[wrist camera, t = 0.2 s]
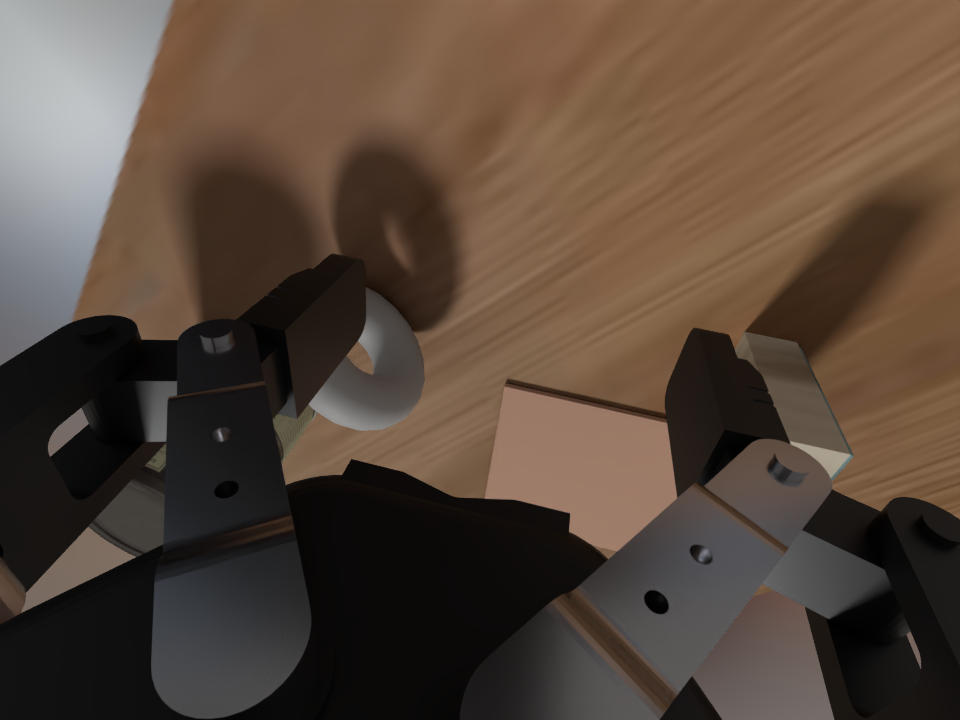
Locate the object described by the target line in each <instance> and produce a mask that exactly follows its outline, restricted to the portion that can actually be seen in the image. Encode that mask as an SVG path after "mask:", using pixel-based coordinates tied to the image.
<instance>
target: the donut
mask: <svg viewBox="0 0 960 720" xmlns="http://www.w3.org/2000/svg"><path fill="white" fill-rule="evenodd" d="M358 342H360V344H361V345H362V346H363V347H364V348H365V349H366V351H367V352H368V354H369V356H370V358H371V360H372V363H373V375H371V374H368V373H366V372H363V371H361V370H360V369H359V368H357V367H356V366H355V365H354V364H353V363H352V362H351V360H350V359H349V358H348V357H347V356H346V357H345V358H344V359H343V360H342V362H341V363H340V364H339V366H338V367H337V368H336V369H335V371H334V372H333V373H332V375H331V376H330V377H329V378H328V380H327V381H326V382H325V384H324V385H323V386H322V388H321V389H320V390H319V391H318V393H317V394H316V395H315V397H314V398H313V399H312V400H311V402H310V403H309V405H310V406H311V407H312V408H313V410H315V411H317V412H318V413H320V414H321V415H323V416H324V417H326V418H327V419H329V420H330V421H332V422H334V423H335V424H339V425H342V426H345V427H349V428H352V429H355V430H361V431H363V430H382V429H385V428H388V427H390V426H392V425H394V424H396V423H397V422H399V421H401V420H403V419H405V418H406V417H407V416H408V415H409V413H410V412H411V411H412V409H413V408H414V407H415V405H416V404H417V403H418V401H419V399H420V397H421V393H422V389H423V385H424V381H425V377H424V362H423V356H422V353H421V350H420V346H419V343H418V340H417V338H416V336H415V335H414V333H413V331H412V329H411V327H410V326H409V324H408V322H407V321H406V320H405V319H404V317H403V316H402V315H401V314H400V313H399V311H398V310H397V309H396V308H395V307H394V306H393V305H392V304H391V303H389V302H388V301H387V300H386V299H385V298H383V297H382V296H381V295H380V294H378V293H376V292H374V291H372V290H371V289H369V288H367V287H366V323H365V327H364V330H363V333H362V335H361V337H360V338H359V340H358Z"/></svg>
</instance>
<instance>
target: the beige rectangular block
mask: <svg viewBox="0 0 960 720" xmlns="http://www.w3.org/2000/svg"><path fill="white" fill-rule="evenodd" d="M735 352H736V355H737V357H738V358H740V359H745V360H748V361H749V362H750V363H751V364H752V365H753V366H754V367H755V368H756V369H757V370H758V371H759V372H760V373H761V375H762V376H763V378H764V381H765V383H766V385H767V388H768V390H769V391H768V394H770V395H771V397H772V400H773V402H774V405H773V406H774V407H776V409H777V412H778V414H779V417H780V419H781V422H782V424H783V426H784V429H785V431H786V434H787V436H788V438H789V441H790V443H791V445H793V446H796V447H798V448H800V449H801V450H803V451H805V452H806V453H808V454H809V455H811V456H812V457H813V458H815V459H816V460H817V461H818V462H819V463H820V464H821V465H822V466H823V467H824V468H825V470H826V471H827V473H828V474H829V476H830V478H831V481H833V480H834V478H835V477H836V476H837V475H838V474H839V473H840V471H841V470H842V469H843V468H844V467H845V466H846V464H847V463H848V462H849V461H850V460H851V458H852V457H853V456H854V455H853V453H852V451H851V449H850V447H849V445H848V443H847V441H846V439H845V437H844V435H843V433H842V431H841V429H840V427H839V424H838V422H837V420H836V418H835V416H834V414H833V412H832V410H831V408H830V406H829V404H828V402H827V400H826V398H825V396H824V394H823V392H822V390H821V387H820V385H819V383H818V381H817V379H816V377H815V375H814V373H813V371H812V369H811V367H810V365H809V363H808V361H807V359H806V357H805V355H804V352H803V350H802V348H799V346H798V344H797V342H793V341H788V340H783V339H778V338H773V337H769V336H764V335H759V334H754V333H749V332H744V334H743V335H742V337H741V339H740V341H739V343H738V345H737V347H736V349H735Z"/></svg>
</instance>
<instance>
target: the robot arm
mask: <svg viewBox="0 0 960 720" xmlns="http://www.w3.org/2000/svg"><path fill="white" fill-rule="evenodd" d="M365 323H366V277H365V265H364V262H363V261H362V260H361V259H357V258H352V257H347V256H342V255H337V254H330V255H329V256H328V257H327V258H326V259H324V260H323V261H322V262H321V263H320V264H319V265H317V266H316V267H315V268H314V269H306V270H304V271H301V272H298V273H296V274H293V275H291V276H289V277H288V278H287V279H286V280H284V281H283V282H282V283H281V284H279V285H278V288H275V289H273V290H272V291H271V292H270V293H268V296H265V297H264V298H262V299H261V300H260V301H259V302H257V303H256V304H255V305H254V306H253V307H251V308H250V309H249V310H248V311H246V312H245V313H244V314H243V315H242V316H240V317H239V318H238V319H237V320H234V319H215V320H209V321H205V322H201V323H198V324H196V325H194V326H191V327H190V328H188V329H186V330H185V331H184V332H183V333H182V334H181V335H180V336H179V338H178V340H141V337H140V334H139V331H138V328H137V325H136V324H135V322H134V321H132V320H131V319H128V318H126V317H122V316H115V315H103V316H94V317H89V318H84V319H81V320H77V321H74V322H72V323H69V324H67V325H65V326H63V327H62V328H60V329H58V330H57V331H55V332H54V333H52V334H50V335H49V336H47V337H45V338H44V339H42V340H41V341H39V342H38V343H36V344H34V345H33V346H31V347H30V348H28V349H26V350H25V351H23V352H22V353H20V354H18V355H17V356H15V357H14V358H12V359H11V360H9V361H7V362H6V363H4V364H3V365H1V366H0V720H722V719H721V717H720V716H719V714H718V713H717V711H716V710H715V709H714V707H713V706H712V704H711V703H710V701H709V700H708V698H707V697H706V695H705V694H704V692H703V691H702V690H701V688H700V687H699V685H698V684H697V682H696V681H695V679H694V678H693V677H692V675H693V674H694V673H695V671H696V670H697V669H698V667H699V666H700V665H701V663H702V662H703V661H704V659H705V658H706V657H707V655H708V654H709V653H710V652H711V650H712V649H713V648H714V646H715V645H716V644H717V642H718V641H719V640H720V638H721V637H722V636H723V634H724V633H725V632H726V630H727V629H728V628H729V626H730V625H731V624H732V622H733V621H734V620H735V619H736V617H737V616H738V615H739V613H740V612H741V611H742V609H743V608H744V607H745V605H746V604H747V603H748V601H749V600H750V599H751V598H752V596H753V595H754V594H755V592H756V591H757V590H758V588H759V587H760V586H761V584H763V585H765V586H767V587H769V588H771V589H773V590H775V591H777V592H779V593H780V594H782V595H784V596H786V597H788V598H790V599H792V600H794V601H796V602H797V603H799V604H802V605H803V606H805V609H806V613H807V617H808V621H809V624H810V628H811V632H812V635H813V640H814V644H815V647H816V651H817V655H818V659H819V662H820V666H821V670H822V673H823V678H824V682H825V685H826V689H827V693H828V697H829V701H830V704H831V708H832V712H833V716H834V719H835V720H960V520H959V519H958V518H957V517H955V516H954V515H952V514H950V513H949V512H947V511H945V510H944V509H942V508H940V507H938V506H936V505H933V504H931V503H928V502H926V501H923V500H919V499H915V498H909V497H898V498H895V499H893V500H891V501H890V502H889V503H888V504H887V505H886V506H885V507H884V509H883V510H882V511H878V510H876V509H874V508H872V507H869V506H867V505H865V504H863V503H860V502H858V501H856V500H854V499H851V498H849V497H847V496H844V495H842V494H840V493H838V492H836V491H834V490H832V481H831V478H830V476H829V474H828V473H827V471H826V470H825V468H824V467H823V466H822V465H821V464H820V463H819V462H818V461H817V460H816V459H815V458H813V457H812V456H811V455H809V454H808V453H806V452H805V451H803V450H801V449H800V448H798V447H796V446H793V445H791V443H790V441H789V438H788V436H787V434H786V431H785V429H784V426H783V424H782V422H781V419H780V417H779V414H778V412H777V409H776V407H774V406H773V405H774V402H773V400H772V397H771V395H770V394H768V391H769V390H768V388H767V385H766V383H765V381H764V378H763V376H762V375H761V373H760V372H759V371H758V370H757V369H756V368H755V367H754V366H753V365H752V364H751V363H750V362H749V361H748V360H745V359H740V358H738V357H737V355H736V352H735V349H734V346H733V344H732V341H731V338H730V336H729V335H728V334H724V333H719V332H714V331H709V330H704V329H699V328H694V329H692V330H691V332H690V333H689V335H688V337H687V340H686V342H685V344H684V347H683V349H682V351H681V354H680V356H679V359H678V361H677V363H676V366H675V368H674V370H673V373H672V375H671V377H670V380H669V382H668V386H667V390H666V395H665V411H666V419H667V426H668V433H669V441H670V448H671V456H672V463H673V470H674V478H675V485H676V493H677V499H676V500H675V501H674V502H672V503H671V504H670V505H669V506H668V507H667V508H666V509H665V510H663V511H662V512H661V513H660V514H659V515H658V516H657V517H656V518H654V519H653V520H652V521H651V522H650V523H649V524H648V525H647V526H645V527H644V528H643V529H642V530H641V531H640V532H639V533H638V534H636V535H635V536H634V537H633V538H632V539H631V540H630V541H629V542H627V543H626V544H625V545H624V546H623V547H622V548H621V549H620V550H619V551H617V552H616V553H615V554H614V555H613V556H612V557H611V558H610V559H608V558H607V557H606V556H604V555H603V554H602V553H601V552H600V551H599V550H597V549H596V548H595V547H593V546H592V545H591V544H589V543H588V542H586V541H585V540H583V539H582V538H580V537H578V536H577V535H575V534H573V533H571V532H569V525H570V513H567V512H562V511H558V510H554V509H550V508H546V507H542V506H538V505H534V504H530V503H526V502H522V501H518V500H510V499H480V498H457V497H453V496H450V495H448V494H446V493H444V492H442V491H440V490H438V489H436V488H434V487H432V486H430V485H428V484H426V483H424V482H422V481H420V480H418V479H416V478H414V477H412V476H410V475H408V474H406V473H404V472H401V471H397V470H393V469H389V468H385V467H381V466H377V465H373V464H369V463H365V462H361V461H357V460H353V459H351V461H350V462H349V464H348V466H347V468H346V469H345V471H344V473H343V474H342V475H328V476H319V477H313V478H308V479H304V480H300V481H296V482H293V483H291V484H288V485H285V479H284V474H283V469H282V464H281V459H280V454H279V449H278V444H277V439H276V434H275V429H274V424H273V419H274V418H275V416H276V415H277V414H279V415H283V416H287V417H291V418H295V419H298V417H299V416H300V415H301V413H302V412H303V411H304V410H305V408H306V407H307V406H308V404H309V403H310V402H311V400H312V399H313V398H314V397H315V395H316V394H317V393H318V391H319V390H320V389H321V388H322V386H323V385H324V384H325V382H326V381H327V380H328V378H329V377H330V376H331V375H332V373H333V372H334V371H335V369H336V368H337V367H338V366H339V364H340V363H341V362H342V360H343V359H344V358H345V357H346V355H347V354H348V353H349V351H350V350H351V349H352V347H353V346H354V345H355V344H356V342H357V341H358V340H359V338H360V337H361V335H362V333H363V330H364V327H365ZM80 408H82V410H83V412H84V414H85V416H86V418H87V420H88V423H89V424H88V425H87V426H86V427H85V428H84V429H82V430H81V431H80V432H79V433H78V434H77V435H75V436H74V437H73V438H72V439H71V440H70V441H68V442H67V443H66V444H65V445H64V446H63V447H61V448H60V449H59V450H58V451H57V452H56V453H54V454H53V455H52V456H51V457H50V456H49V453H48V442H49V439H50V437H51V435H52V433H53V432H54V430H55V429H56V428H57V427H58V426H59V425H60V424H61V423H63V422H64V421H65V420H66V419H68V418H69V417H70V416H71V415H73V414H74V413H75V412H76V411H77V410H79V409H80ZM165 444H166V468H165V503H164V538H163V545H160V546H158V547H156V548H154V549H152V550H150V551H148V552H146V553H144V554H142V555H140V556H138V557H136V558H134V559H132V560H130V561H128V562H126V563H123V564H122V565H119V566H117V567H115V568H113V569H111V570H109V571H107V572H105V573H103V574H101V575H99V576H97V577H95V578H93V579H91V580H89V581H86V582H84V583H82V584H80V585H78V586H76V587H74V588H72V589H70V590H68V591H66V592H64V593H62V594H60V595H58V596H56V597H54V598H52V599H50V600H48V601H45V602H43V603H41V604H39V605H37V606H35V607H33V608H31V609H29V610H27V611H25V612H23V613H21V611H22V609H23V606H24V604H25V598H26V592H27V591H28V590H29V589H30V588H31V587H32V586H33V585H34V584H35V583H36V582H37V581H38V579H39V578H40V577H41V576H42V575H43V574H44V573H45V572H46V571H47V570H48V569H49V568H50V567H51V566H52V564H53V563H54V562H55V561H56V560H57V559H58V558H59V557H60V556H61V555H62V554H63V553H64V552H65V550H66V549H67V548H68V547H69V546H70V545H71V544H72V543H73V542H74V541H75V540H76V539H77V538H78V536H79V535H81V533H82V532H83V531H84V530H85V529H86V528H87V527H88V526H89V525H90V524H91V523H92V522H93V521H94V520H95V519H96V517H97V516H98V515H99V514H100V513H101V512H102V511H103V510H104V509H105V508H106V507H107V506H108V505H109V504H110V502H111V501H112V500H113V499H114V498H115V497H116V496H117V495H118V494H119V493H120V492H121V491H122V490H123V489H124V488H125V486H126V485H127V484H128V483H129V482H130V481H131V480H132V479H133V478H134V477H135V476H136V475H137V474H138V473H139V471H140V470H141V469H142V468H143V467H144V466H145V465H146V464H147V463H148V462H149V461H150V460H151V459H152V458H153V457H154V455H155V454H156V453H157V452H158V451H159V450H160V449H161V448H162V447H163V446H164V445H165ZM20 613H21V614H20ZM910 631H911V633H912V636H913V638H914V640H915V643H916V645H917V647H918V650H919V653H920V657H921V669H920V667H919V664H918V662H917V659H916V657H915V654H914V652H913V650H912V647H911V645H910V643H909V640H908V638H907V635H906V634H907V633H909V632H910Z"/></svg>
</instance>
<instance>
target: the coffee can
mask: <svg viewBox="0 0 960 720" xmlns="http://www.w3.org/2000/svg"><path fill="white" fill-rule="evenodd" d="M316 414H317V411H315V410H313V408H312V407H311V406H310V405H309V404H308V406H307V407H306V408H305V410H304V411H303V412H302V413H301V415H300V416H299V417H298V419H295V418H291V417H287V416H283V415H279V414H277V415H276V416H275V418H274V419H273V424H274V429H275V434H276V439H277V444H278V449H279V454H280V459H281V464H282V463H283V461H284V460H285V458H286V457H287V455H288V454H289V453H290V451H291V450H292V448H293V447H294V445H295V444H296V442H297V441H298V439H299V438H300V436H301V435H302V434H303V432H304V431H305V429H306V428H307V426H308V425H309V424H310V422H311V421H312V420H313V419H314V418H315V416H316ZM165 468H166V444H165V445H164V446H163V447H162V448H161V449H160V450H159V451H158V452H157V453H156V454H155V455H154V457H153V458H152V459H151V460H150V461H149V462H148V463H147V464H146V465H145V466H144V467H143V468H142V469H141V470H140V471H139V473H138V474H137V475H136V476H135V477H134V478H133V479H132V480H131V481H130V482H129V483H128V484H127V485H126V486H125V488H124V489H123V490H122V491H121V492H120V493H119V494H118V495H117V496H116V497H115V498H114V499H113V500H112V501H111V502H110V504H109V505H108V506H107V507H106V508H105V509H104V510H103V511H102V512H101V513H100V514H99V515H98V516H97V517H96V519H95V520H94V521H93V522H92V523H91V524H90V525H89V526H88V527H89V528H91V529H92V530H93V531H94V532H95V533H97V534H98V535H100V536H101V537H102V538H104V539H105V540H107V541H108V542H110V543H112V544H113V545H115V546H116V547H118V548H120V549H122V550H124V551H125V552H127V553H129V554H131V555H134V556H136V557H138V556H140V555H142V554H144V553H146V552H148V551H150V550H152V549H154V548H156V547H158V546H160V545H163V538H164V503H165Z"/></svg>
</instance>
